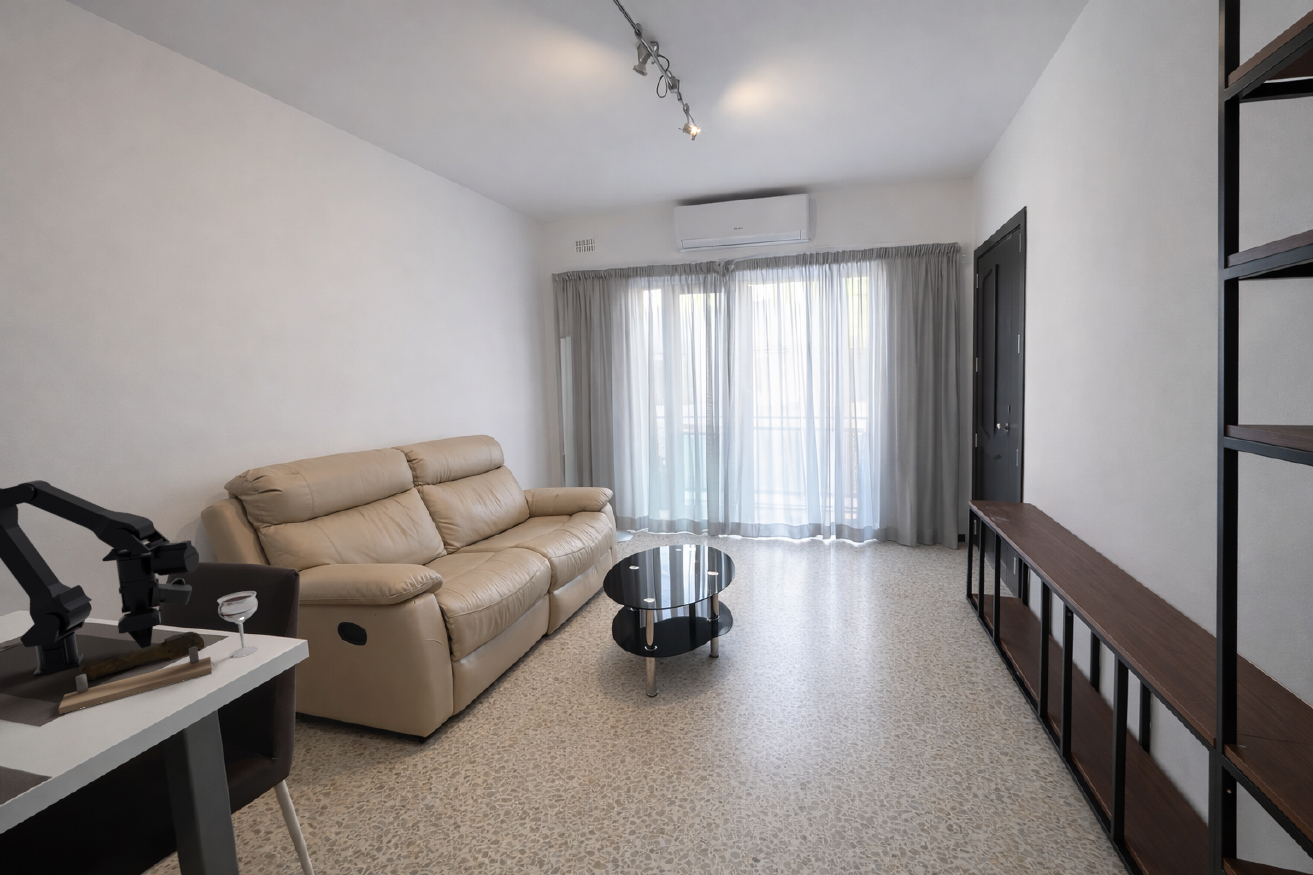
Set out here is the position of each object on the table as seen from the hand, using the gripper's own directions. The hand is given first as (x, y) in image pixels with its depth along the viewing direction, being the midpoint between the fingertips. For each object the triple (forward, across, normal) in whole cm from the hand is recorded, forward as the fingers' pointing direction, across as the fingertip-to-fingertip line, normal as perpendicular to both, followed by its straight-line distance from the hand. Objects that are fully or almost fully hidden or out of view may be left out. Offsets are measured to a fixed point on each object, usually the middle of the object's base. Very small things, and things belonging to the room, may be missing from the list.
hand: (147, 649), depth 123 cm
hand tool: (+2, -6, 0) cm, 6 cm away
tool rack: (+1, -18, 0) cm, 18 cm away
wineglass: (+1, -14, -16) cm, 21 cm away
